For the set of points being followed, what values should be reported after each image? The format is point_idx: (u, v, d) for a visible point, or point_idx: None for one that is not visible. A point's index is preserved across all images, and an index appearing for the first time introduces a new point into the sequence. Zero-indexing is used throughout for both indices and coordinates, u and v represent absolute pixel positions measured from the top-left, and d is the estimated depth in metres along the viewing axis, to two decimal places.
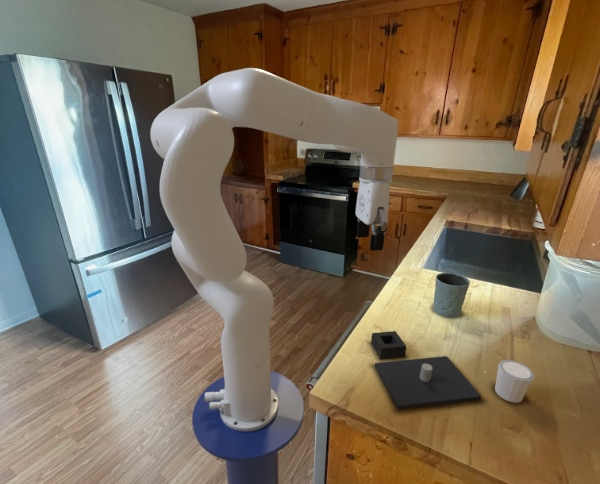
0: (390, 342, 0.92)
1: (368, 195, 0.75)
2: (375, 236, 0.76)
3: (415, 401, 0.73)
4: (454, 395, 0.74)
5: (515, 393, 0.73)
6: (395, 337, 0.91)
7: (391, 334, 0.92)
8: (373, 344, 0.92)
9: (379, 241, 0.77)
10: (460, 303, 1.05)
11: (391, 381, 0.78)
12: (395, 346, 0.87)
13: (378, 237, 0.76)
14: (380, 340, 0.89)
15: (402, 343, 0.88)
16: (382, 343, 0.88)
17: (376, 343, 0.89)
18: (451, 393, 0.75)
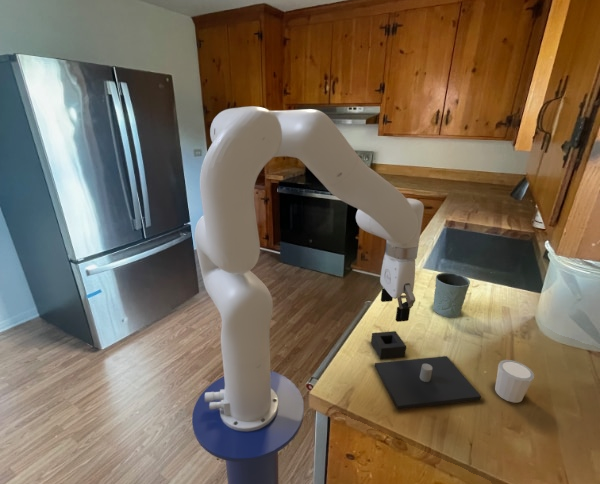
0: (390, 342, 0.92)
1: (395, 272, 0.78)
2: (401, 309, 0.80)
3: (415, 401, 0.73)
4: (454, 395, 0.74)
5: (515, 393, 0.73)
6: (395, 337, 0.91)
7: (391, 334, 0.92)
8: (373, 344, 0.92)
9: (405, 314, 0.80)
10: (460, 303, 1.05)
11: (391, 381, 0.78)
12: (395, 346, 0.87)
13: (404, 310, 0.80)
14: (380, 340, 0.89)
15: (402, 343, 0.88)
16: (382, 343, 0.88)
17: (376, 343, 0.89)
18: (451, 393, 0.75)
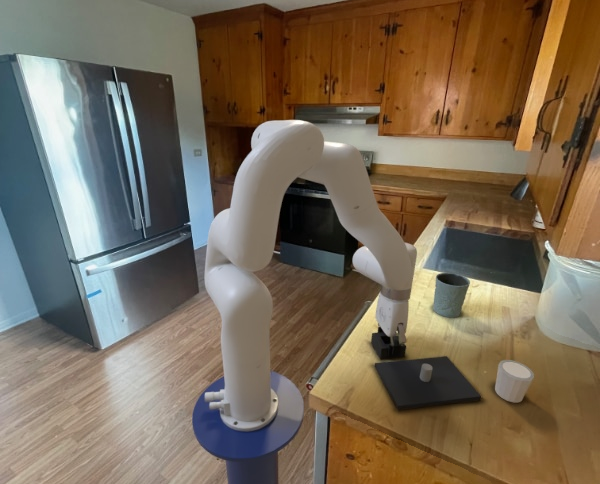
0: (390, 342, 0.93)
1: (389, 312, 0.82)
2: (393, 346, 0.85)
3: (415, 401, 0.73)
4: (454, 395, 0.74)
5: (515, 393, 0.73)
6: (395, 337, 0.91)
7: None
8: (373, 344, 0.92)
9: (396, 350, 0.85)
10: (460, 303, 1.05)
11: (391, 381, 0.78)
12: None
13: (396, 347, 0.85)
14: (380, 340, 0.89)
15: None
16: (382, 343, 0.88)
17: (376, 343, 0.89)
18: (451, 393, 0.75)
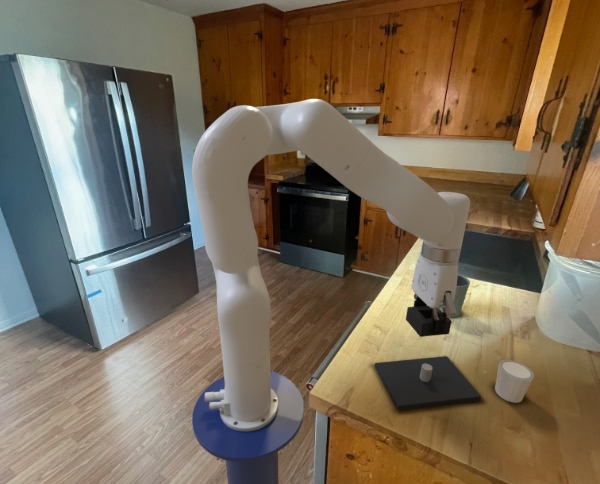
0: (429, 318, 0.78)
1: (434, 277, 0.67)
2: (437, 321, 0.70)
3: (415, 401, 0.73)
4: (454, 395, 0.74)
5: (515, 393, 0.73)
6: None
7: (430, 308, 0.77)
8: (409, 320, 0.77)
9: (441, 326, 0.71)
10: (460, 303, 1.05)
11: (391, 381, 0.78)
12: None
13: (440, 322, 0.70)
14: (419, 314, 0.74)
15: None
16: (422, 318, 0.73)
17: (414, 318, 0.75)
18: (451, 393, 0.75)
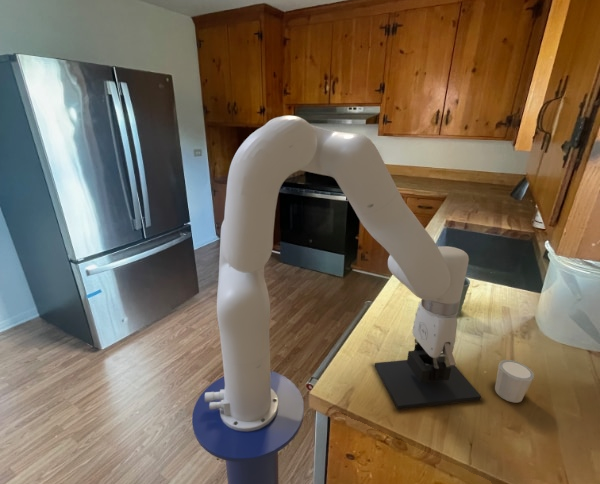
0: (429, 362, 0.80)
1: (433, 329, 0.70)
2: (437, 369, 0.72)
3: (415, 401, 0.73)
4: (454, 395, 0.74)
5: (515, 393, 0.73)
6: None
7: None
8: (410, 364, 0.79)
9: (441, 373, 0.73)
10: (460, 303, 1.05)
11: (391, 381, 0.78)
12: None
13: (440, 370, 0.72)
14: (419, 360, 0.77)
15: None
16: (422, 364, 0.75)
17: (415, 364, 0.77)
18: (451, 393, 0.75)
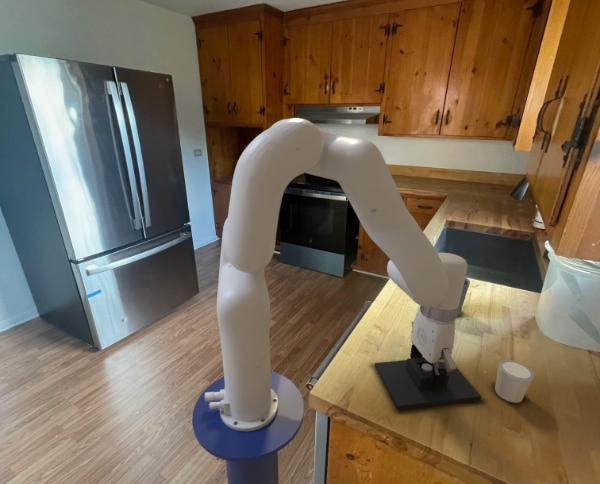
0: None
1: (432, 335, 0.70)
2: (437, 375, 0.72)
3: (415, 401, 0.73)
4: (454, 395, 0.74)
5: (515, 393, 0.73)
6: None
7: None
8: (409, 371, 0.80)
9: (441, 380, 0.72)
10: (460, 303, 1.05)
11: (391, 381, 0.78)
12: None
13: (441, 376, 0.72)
14: (418, 368, 0.77)
15: None
16: (421, 372, 0.76)
17: (413, 371, 0.78)
18: (451, 393, 0.75)
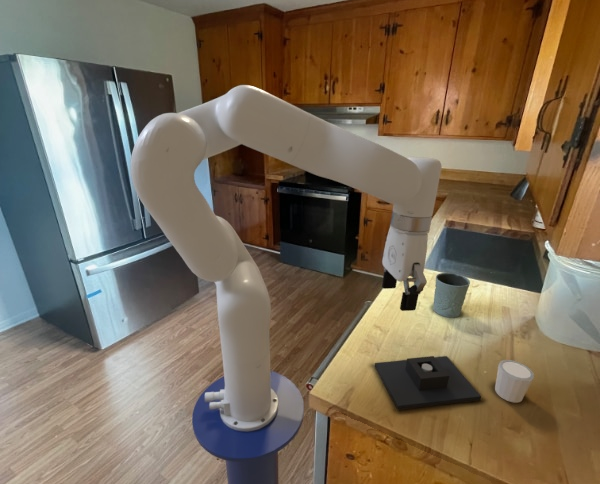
0: None
1: (402, 248, 0.63)
2: (408, 295, 0.65)
3: (415, 401, 0.73)
4: (454, 395, 0.74)
5: (515, 393, 0.73)
6: (434, 364, 0.79)
7: (429, 360, 0.80)
8: (409, 371, 0.80)
9: (412, 301, 0.65)
10: (460, 303, 1.05)
11: (391, 381, 0.78)
12: (436, 376, 0.75)
13: (411, 297, 0.65)
14: (418, 368, 0.77)
15: (444, 372, 0.76)
16: (421, 372, 0.76)
17: (413, 371, 0.78)
18: (451, 393, 0.75)
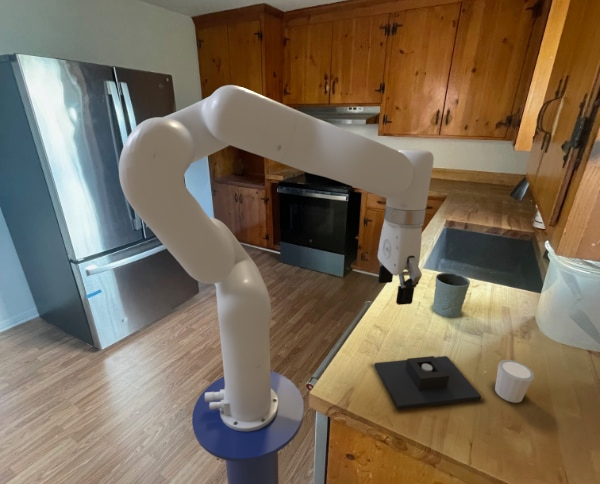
0: None
1: (396, 241, 0.63)
2: (404, 289, 0.64)
3: (415, 401, 0.73)
4: (454, 395, 0.74)
5: (515, 393, 0.73)
6: (434, 364, 0.79)
7: (429, 360, 0.80)
8: (409, 371, 0.80)
9: (408, 294, 0.65)
10: (460, 303, 1.05)
11: (391, 381, 0.78)
12: (436, 376, 0.75)
13: (407, 290, 0.64)
14: (418, 368, 0.77)
15: (444, 372, 0.76)
16: (421, 372, 0.76)
17: (413, 371, 0.78)
18: (451, 393, 0.75)
